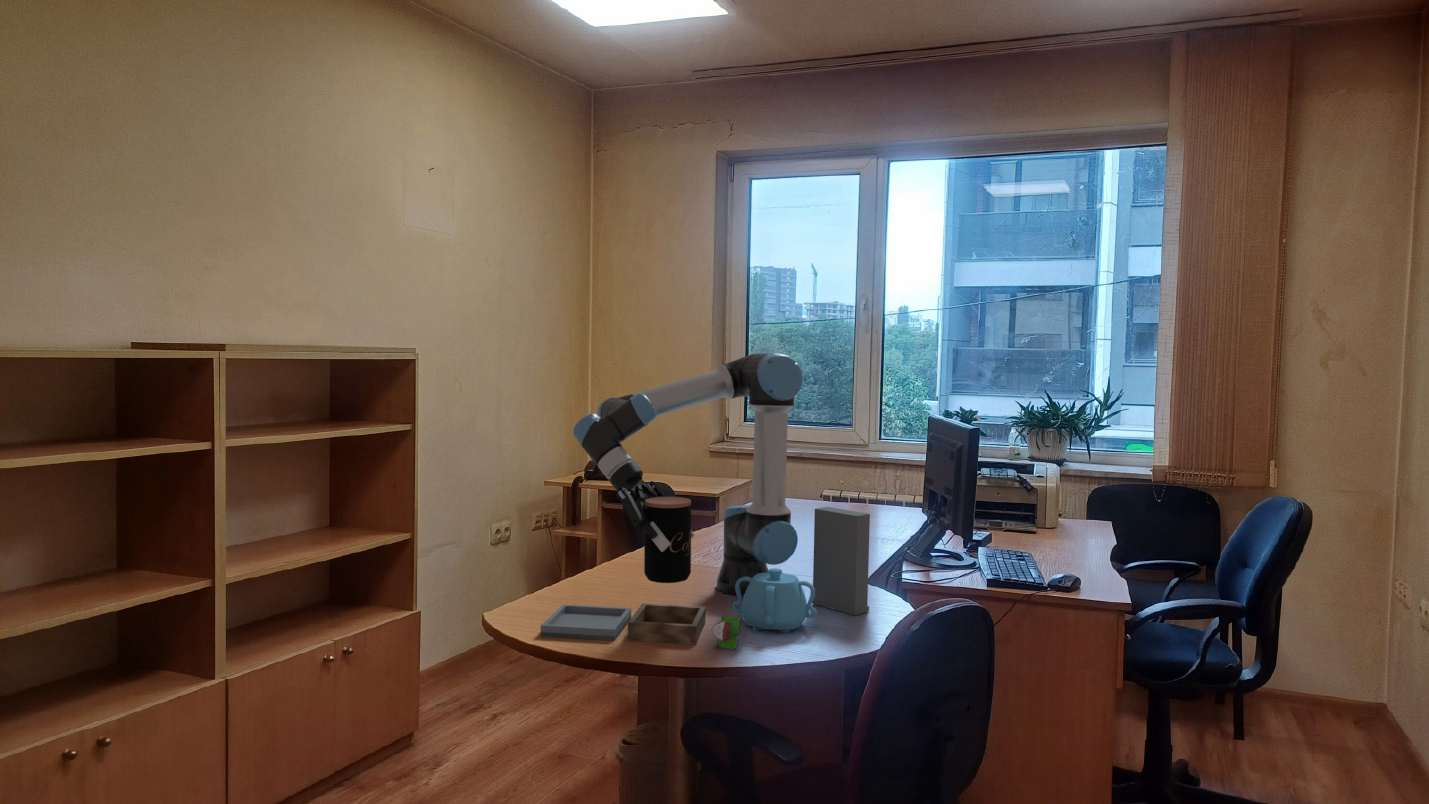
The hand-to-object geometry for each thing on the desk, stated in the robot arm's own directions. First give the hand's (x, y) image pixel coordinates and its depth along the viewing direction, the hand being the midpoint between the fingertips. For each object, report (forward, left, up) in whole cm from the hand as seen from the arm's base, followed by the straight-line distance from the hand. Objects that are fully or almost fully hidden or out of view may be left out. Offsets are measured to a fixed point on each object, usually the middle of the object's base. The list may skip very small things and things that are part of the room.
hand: (678, 543), depth 197 cm
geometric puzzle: (-13, +7, -21) cm, 26 cm away
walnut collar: (+2, -1, -21) cm, 21 cm away
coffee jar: (+3, -1, -9) cm, 9 cm away
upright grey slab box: (-38, -28, -21) cm, 51 cm away
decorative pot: (-22, -10, -21) cm, 32 cm away
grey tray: (+21, -1, -21) cm, 30 cm away
